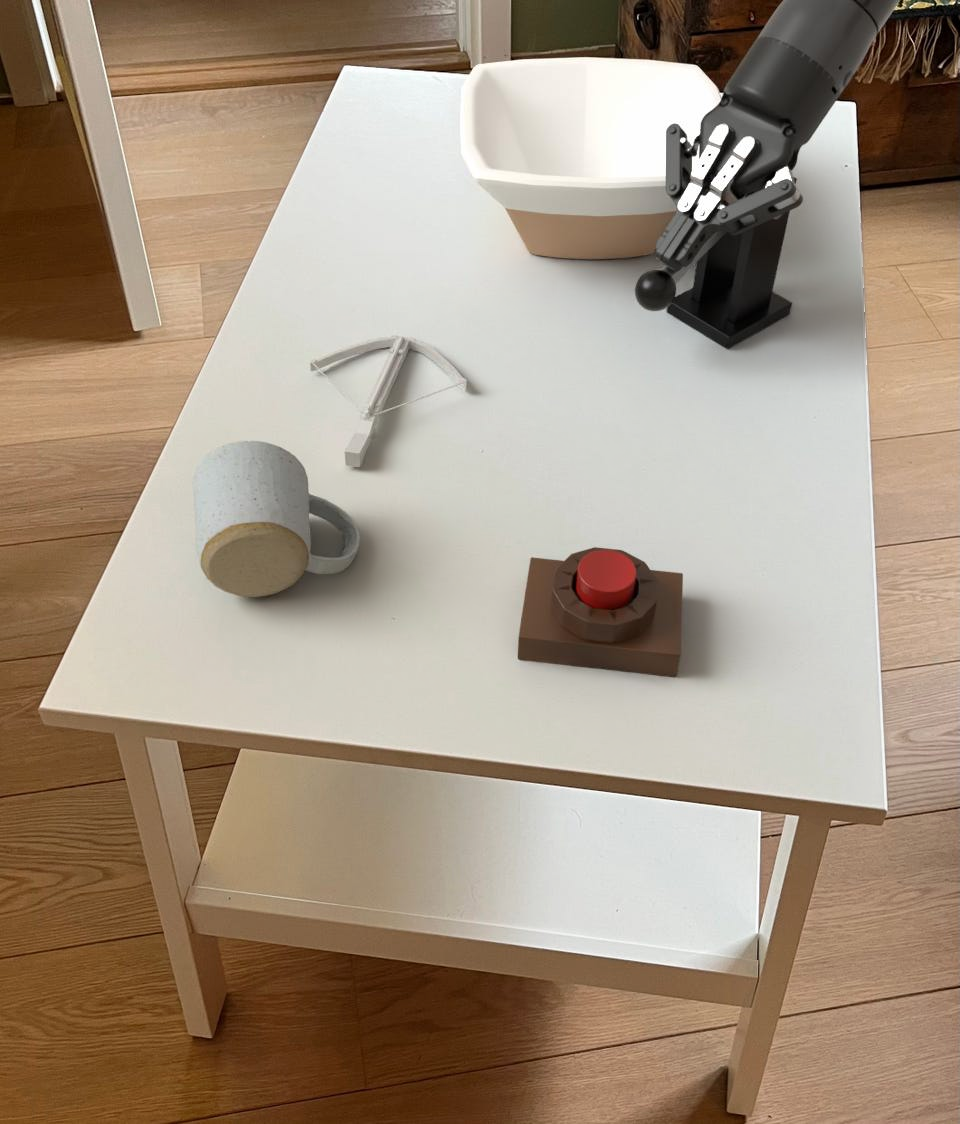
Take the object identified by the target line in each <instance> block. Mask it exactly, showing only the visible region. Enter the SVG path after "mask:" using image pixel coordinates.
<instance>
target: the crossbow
mask: <svg viewBox="0 0 960 1124" xmlns="http://www.w3.org/2000/svg"><path fill="white" fill-rule="evenodd" d="M384 348H389V350H388V355H387V357H386V360H385V362H384V365H383V366H382V368H381V371H380V373H379V375H378V377H377V379H376V382H375V384H374V386H373V388H372V390H371V392H370V394H369V396H368V398H367V400H366V402H365V405H364V408H363V409H362V410H361V409H360V408H359V407H358V406H357V405H356V404H355V403H354V402H353V401H352V400H351V399H350V398H349V397H348V396H347V395H346V394H345V393H344V392H343V391H342V390H341V389H340V387H338V386H337V385H336V384H335V383H334V382H333V380H331V379H330V378H329V377H328V376H327V375H326V373H324V372H323V371H322V370H321V369H322V368H324V367H327V366H330V365H331V364H334V363H336V362H339V361H342V360H344V359H347V358H351V357H353V356H356V355H360V354H363V353H366V352H370V351H374V350H379V349H384ZM409 350H411V351H416V352H417V353H420V354H423V355H424V356H426V357H427V358H429V360H431V361H432V362H434V363H435V364H437V365H438V367H440V368H441V369H442V370H443V371H445V373H447V374H448V375H449V376H450V377H451V378H452V379H453V380H454V382H455V383H456V384H453V385H451V386H448V387H445V388H442V389H440V390H437V391H434V392H431V393H428V394H426V395H423V396H420V397H418V398H415V399H412V400H409V401H407V402H404V403H401V404H399V405H396V406H393V407H391V408H388V409H385V410H383V409H384V406H385V404H386V402H387V400H388V398H389V395H390V393H391V390H392V388H393V386H394V384H395V382H396V380H397V377H398V375H399V373H400V371H401V368H402V367H403V366H402V365H403V364H404V361H405V359H406V357H407V354H408V352H409ZM309 366H310V367H309V368H310V372H315V371H317V370H318V371H319V372H320V373H321V374H322V375H323V377H324V378H326V379H327V380H328V381H329V382H330V383H331V384H332V385H333V386H334V387H335V388H336V389H337V390H338V392H339V393H340V394H342V396H344V398H346V399H347V401H349V402H350V404H352V406H353V407H355V409H356V410H357V411H358V412H359V413H360V416H359V418H358V421H357V424H356V428H355V430H354V434H353V435H352V437H351V439H350V441H349V443H348V444H347V447H346V448H345V450H344V463H345V466H346V467H353V468H355V467H356V468H361V466H362V464H363V461H364V459H365V456H366V453H367V450H368V448H369V445H370V443H371V440H372V439H374V438H375V429H376V425H377V422H378V420H379V418H380V415H381V414H384V413H386V412H389V411H392V410H393V409H397V408H399V407H402V406H405V405H408V404H411V403H414V402H416V401H419V400H421V399H424V398H428V397H430V396H432V395H435V394H438V393H441V392H443V391H446V390H448V389H451V388H454V387H456V386H459V388H460V389H461V390H462V391H464V392H466V390H467V388H468V380H467V379H466V378H465V377H463V376H462V375H461V374H460V372H458V370H457V369H456V368H455V367H454V366H453V365H452V363H450V362H449V361H448V360H447V359H446V358H445V357H444V356H443V355H442V354H440V353H439V352H437V351H436V350H435V349H434V348H432V347H431V346H429V345H428V344H427V343H425V342H423V341H421V340H418V339H417V338H415V337H412V336H410V337H409V336H400V335H397V334H396V335H390V336H384V337H378V338H373V339H371V340H366V341H362V342H359V343H356V344H353V345H350V346H348V347H347V346H346V347H344V348H341V349H339V350H336V351H333V352H331V353H329V354H327V355H324V356H322V357H319V358H317V359H316V358H315V359H311V360H310V362H309Z"/></svg>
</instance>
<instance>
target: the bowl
mask: <svg viewBox="0 0 960 1124" xmlns="http://www.w3.org/2000/svg"><path fill="white" fill-rule="evenodd" d="M460 90H461V94H460V117H459V119H460V120H459V121H460V123H459V125H460V152H461V158H462V159H463V161H464V163H465V165H466V167H467V169H468V171H469V173H470V175H471V176H472V178H473V180H474V182H475V183H476V184H477V185H478V186H479V187H481V188H482V189H483V190H484V191H485V192H486V193H487V194H488V195H490V196H491V197H492V198H493V199H494V200H495V201H496V202H498V204H500V205H501V206H502V207H503V208H504V210H505V212H506V213H507V215H508V216H509V219H510V221H511V223H512V224H513V226H514V227H515V229H516V231H517V234H518V235H519V237H520V239H521V241H522V243H523V244H524V246H525V248H526V250H527V252H528V253H529V254H530V255H535V256H543V257H548V258H549V257H550V258H556V259H573V260H574V259H575V260H576V259H577V260H609V259H610V260H611V259H612V260H613V259H628V258H635V257H641V256H642V257H643V256H649V255H652V254H654V253H655V252H656V250H657V249H656V248H655V247H656V243H657V240H658V239H659V237H660V236H661V235H662V233H663V231H664V230H665V228H666V227H667V225H668V224H669V222H670V221H671V219H672V218H673V216H674V215H675V213H676V204H675V203H674V202H673V200H672V199H671V198H670V196H669V195H668V194H667V193H666V130H667V128H668V127H669V126H670V125H671V124H674V123H676V124H678V125H679V126H680V127H681V128H686V127H689V126H693V125H697V124H700V123H701V121H702V119H703V117H704V116H705V115H706V114H707V113H708V112H709V111H711V110H712V109H714V108H715V107H716V106H717V105H718V104H719V102H720V101H721V98H722V96H721V95H722V94H721V93H720V90H719V88H718V86H717V85H716V84H715V83H714V82H713V80H711V79H710V78H709V76H708V75H706V73H705V72H704V71H703V70H702V69H701V68H700V67H699V66H698V65H696V64H691V63H682V62H671V61H665V60H653V59H640V58H639V59H638V58H617V57H616V58H613V57H591V56H590V57H589V56H584V57H583V56H581V57H579V56H578V57H553V58H552V57H551V58H550V57H549V58H527V59H526V58H525V59H524V58H523V59H514V60H504V61H496V62H486V63H479V64H476V65H475V66H474V67H473V68H472V70H471V71H470V73H469V74H468V77H466V80H465V81H464V83H463V85H462V86H461V89H460ZM698 161H699V147H698V151H697V155H696V156H695V157H692V171H693V169H694V168H695V166H696V164H697V162H698Z"/></svg>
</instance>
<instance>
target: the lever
mask: <svg viewBox="0 0 960 1124" xmlns="http://www.w3.org/2000/svg"><path fill="white" fill-rule="evenodd" d="M730 191H732V190H731V189H730ZM725 233H726V232H720V231H717V232H715V233H712V234H711V235H710V236H709V237H708V239H707V240H706V242H705V243H704V245H703V246H702V248H701V249H700V251H699V252H698V254H697V255H696V256H695V258H694V260H693V261H692V263H691V264H689V265H688V266H687V267H686V268H685V267H682V269H681V270H680V271H678V272H676V271H674V270H673V269H671V268H669V267H667V266H666V267H665V268H664V269H658V268H657V269H650V270H648V271H645V272H644V273H643V274H641V275H640V276H639V277H638V279H637V281H636V283H635V285H634V297H635V299H636V301H637V303H638V304H639V305H640V306H641V307H642V308H643V309H645V310H647V311H650V312H661V311H663V310H666V309H667V307H668V306H669V305H670V304H671V303H672V302H673V300H674V298H675V297H676V296H677V295H676V294H677V283H678V281H680V280H681V278H683V277H684V276H685V275H686V274H687V272H689V271H690V269H692V267H693V266H695V264H697V261H698V260H699V259H700V258H701V257H702V256H703V255H704V254H705V253H706V252H707V251H708V250H709V249H710V248H711V247H712V246H713V245H714V244H715V243H716V242H717V241H718V240H719V239H720V238H721V237H722V236H723V235H724V234H725Z"/></svg>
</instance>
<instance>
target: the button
mask: <svg viewBox="0 0 960 1124" xmlns="http://www.w3.org/2000/svg"><path fill="white" fill-rule="evenodd" d="M635 579H636V568H635V566H634V564H633V562H632V561H631V560H630V559H629V558H628V557H627V556H625V555H623V554H621V553H619V552H616V551H612V550H598V551H594V552H591V553H589V554H587V555H586V556H585V557H583V559H582V560H581V561H580V563H579V565H578V572H577V583H576V590H577V594H578V595H579V597H580V599H581V600H582V601H583V602H584V603H586V604H587V605H589V606H591V607H593V608H596V609H603V610H614V609H618V608H621V607H623V606H624V605H626V604H627V603H628V602H629V601H630V600H631V598H632V596H633V593H634V586H635Z"/></svg>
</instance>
